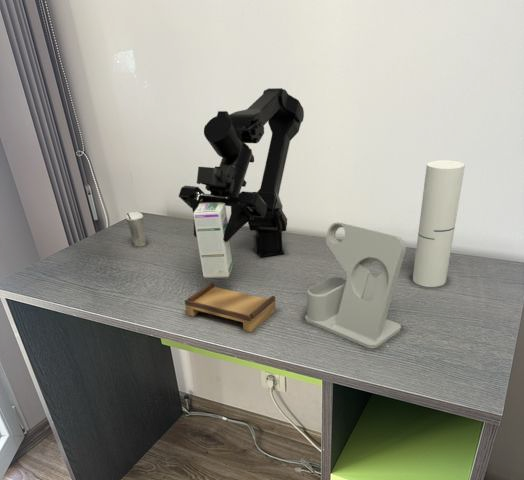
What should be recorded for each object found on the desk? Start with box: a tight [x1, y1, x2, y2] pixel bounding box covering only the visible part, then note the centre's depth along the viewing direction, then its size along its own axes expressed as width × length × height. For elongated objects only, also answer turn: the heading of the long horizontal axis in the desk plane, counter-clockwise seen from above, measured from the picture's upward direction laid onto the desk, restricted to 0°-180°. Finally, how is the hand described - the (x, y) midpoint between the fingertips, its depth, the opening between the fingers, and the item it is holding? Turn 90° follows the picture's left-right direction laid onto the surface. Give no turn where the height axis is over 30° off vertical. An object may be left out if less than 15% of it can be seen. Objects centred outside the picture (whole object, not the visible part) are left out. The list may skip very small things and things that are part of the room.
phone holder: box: [304, 222, 407, 349], centre depth 92 cm, size 17×10×18 cm, turn 45°
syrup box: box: [192, 202, 234, 278], centre depth 104 cm, size 6×6×14 cm
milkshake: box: [125, 211, 147, 248], centre depth 137 cm, size 4×5×10 cm
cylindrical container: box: [412, 159, 466, 288], centre depth 104 cm, size 7×7×25 cm
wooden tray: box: [184, 282, 277, 333], centre depth 102 cm, size 16×10×4 cm, turn 59°
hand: (210, 238), depth 102 cm, fingers closed on syrup box, 7 cm apart
